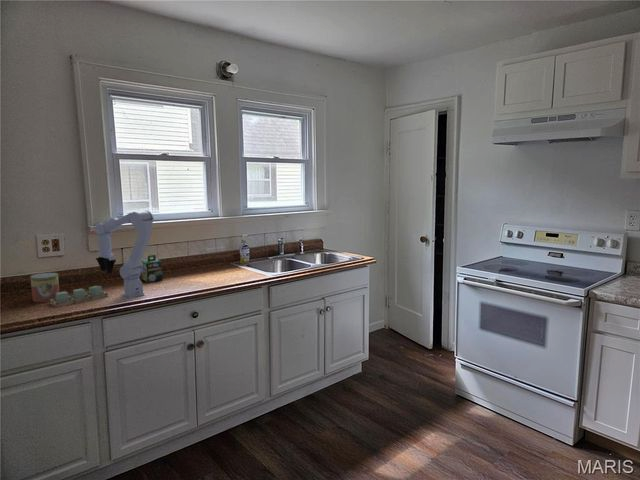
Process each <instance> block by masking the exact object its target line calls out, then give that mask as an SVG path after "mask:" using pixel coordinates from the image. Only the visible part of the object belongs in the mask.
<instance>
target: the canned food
mask: <svg viewBox="0 0 640 480" xmlns="http://www.w3.org/2000/svg"><path fill="white" fill-rule="evenodd" d="M30 287H31V295H32V301H33V302H35V303H45V302H50V299H55V298H56V293H59V292H60V282H59V273H58V272H42V273H41V272H40V273H36V274H32V275H30Z"/></svg>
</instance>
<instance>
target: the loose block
mask: <svg viewBox="0 0 640 480" xmlns="http://www.w3.org/2000/svg"><path fill="white" fill-rule="evenodd" d="M102 288H103V287H102V285H93V286H90V287H88V292H89V295H91V296H92V295H97V294H102V291H103V289H102Z"/></svg>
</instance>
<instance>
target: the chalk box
mask: <svg viewBox="0 0 640 480" xmlns="http://www.w3.org/2000/svg"><path fill="white" fill-rule="evenodd" d="M156 257H157V256H156V254H152V255H151V254H150V255H147V259H144V260H143V259H142V260H141V262H142V263H143V266H142V273H141V279H142V280H143V281H145V282H146V283H149V282H150V283H152V282H157V281H162V280H164V279H163V278H164V277H163V261H162V260H160V259H158V258H156Z"/></svg>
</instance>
